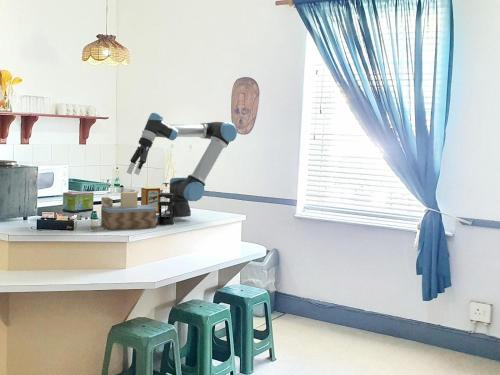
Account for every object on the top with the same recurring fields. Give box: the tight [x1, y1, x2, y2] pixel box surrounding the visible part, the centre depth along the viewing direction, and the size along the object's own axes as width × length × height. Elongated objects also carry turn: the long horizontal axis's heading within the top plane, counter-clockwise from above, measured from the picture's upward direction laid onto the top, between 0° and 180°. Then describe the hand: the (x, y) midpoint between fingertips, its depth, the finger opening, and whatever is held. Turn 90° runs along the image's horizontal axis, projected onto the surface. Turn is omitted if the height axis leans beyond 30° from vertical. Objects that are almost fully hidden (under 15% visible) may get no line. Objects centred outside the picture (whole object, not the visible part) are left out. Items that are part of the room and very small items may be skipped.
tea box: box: [61, 190, 95, 220], centre depth 357 cm, size 15×10×15 cm, turn 151°
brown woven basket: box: [100, 209, 157, 231], centre depth 334 cm, size 26×17×10 cm, turn 119°
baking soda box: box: [140, 186, 161, 214], centre depth 384 cm, size 10×6×16 cm
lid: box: [100, 191, 156, 213], centre depth 332 cm, size 26×14×11 cm, turn 119°
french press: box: [156, 182, 176, 226], centre depth 347 cm, size 12×9×23 cm
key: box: [100, 196, 114, 207], centre depth 333 cm, size 4×9×4 cm, turn 29°
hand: (132, 173), depth 346 cm, fingers open, 13 cm apart
